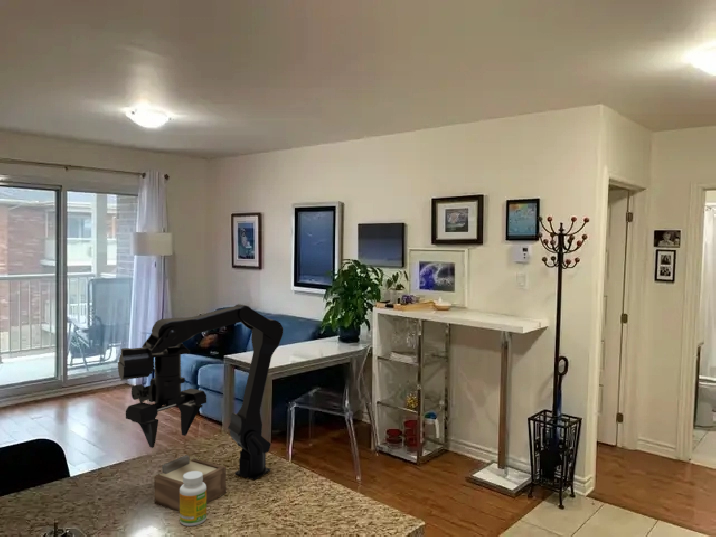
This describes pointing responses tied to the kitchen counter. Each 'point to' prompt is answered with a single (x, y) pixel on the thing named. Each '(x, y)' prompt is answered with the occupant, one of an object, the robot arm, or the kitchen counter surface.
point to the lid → (183, 468)
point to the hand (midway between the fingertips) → (168, 441)
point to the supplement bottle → (192, 499)
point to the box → (170, 488)
